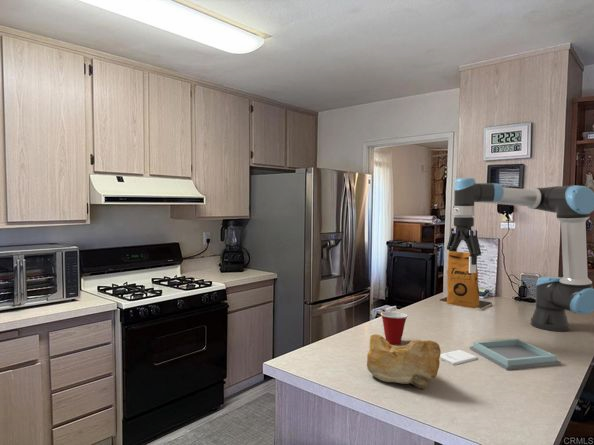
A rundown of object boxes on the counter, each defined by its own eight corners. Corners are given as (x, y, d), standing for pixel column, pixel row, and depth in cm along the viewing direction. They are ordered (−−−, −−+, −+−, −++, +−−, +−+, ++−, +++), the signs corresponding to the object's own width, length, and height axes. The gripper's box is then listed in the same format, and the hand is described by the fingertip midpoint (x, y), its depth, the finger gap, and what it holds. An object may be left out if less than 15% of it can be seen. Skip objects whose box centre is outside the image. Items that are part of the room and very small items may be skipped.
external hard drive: (477, 361, 149) (452, 366, 143) (459, 353, 156) (435, 358, 151) (477, 356, 149) (453, 362, 143) (459, 349, 156) (435, 354, 151)
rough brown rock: (451, 382, 132) (452, 335, 132) (435, 397, 118) (436, 345, 119) (384, 366, 145) (385, 324, 146) (363, 379, 132) (364, 332, 132)
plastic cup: (409, 340, 168) (410, 311, 168) (404, 348, 159) (405, 318, 158) (383, 336, 173) (383, 308, 172) (377, 344, 163) (377, 315, 163)
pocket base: (517, 345, 164) (518, 337, 164) (560, 364, 145) (560, 356, 144) (469, 349, 159) (470, 341, 159) (507, 370, 140) (507, 361, 139)
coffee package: (475, 310, 158) (476, 254, 157) (443, 305, 166) (443, 252, 164) (482, 304, 166) (483, 251, 164) (451, 300, 174) (451, 249, 172)
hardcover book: (480, 311, 215) (480, 307, 215) (439, 303, 231) (439, 299, 231) (491, 306, 226) (492, 302, 226) (451, 298, 243) (451, 295, 242)
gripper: (438, 215, 175) (437, 265, 176) (474, 218, 152) (473, 275, 153) (454, 215, 177) (453, 265, 178) (492, 217, 153) (490, 275, 155)
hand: (462, 270), depth 165 cm, fingers closed on coffee package, 12 cm apart
